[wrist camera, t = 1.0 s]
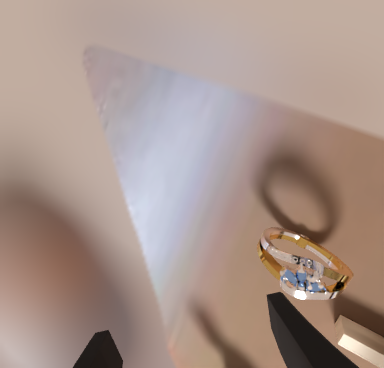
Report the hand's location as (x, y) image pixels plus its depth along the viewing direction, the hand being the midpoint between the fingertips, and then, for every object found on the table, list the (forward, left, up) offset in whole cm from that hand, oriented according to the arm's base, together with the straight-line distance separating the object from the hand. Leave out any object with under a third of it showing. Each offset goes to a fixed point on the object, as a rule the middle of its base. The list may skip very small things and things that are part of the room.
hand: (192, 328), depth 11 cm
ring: (-4, 0, -16) cm, 16 cm away
